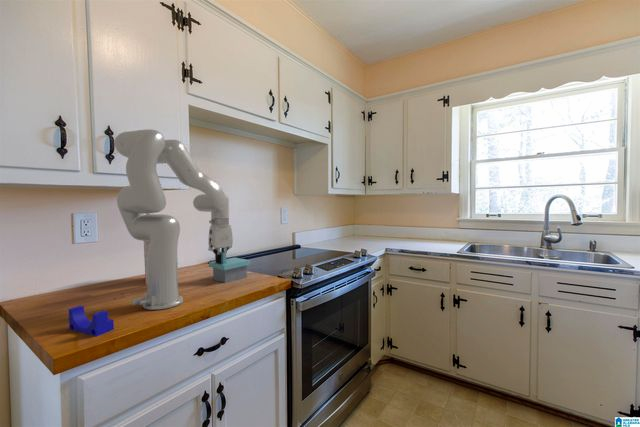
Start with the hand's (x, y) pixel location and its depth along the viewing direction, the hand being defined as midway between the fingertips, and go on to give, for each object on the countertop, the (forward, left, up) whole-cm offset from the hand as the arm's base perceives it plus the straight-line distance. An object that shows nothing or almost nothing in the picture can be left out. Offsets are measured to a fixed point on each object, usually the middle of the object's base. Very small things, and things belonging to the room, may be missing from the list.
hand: (220, 262), depth 132 cm
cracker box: (-18, +25, -9) cm, 32 cm away
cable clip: (-52, -13, -9) cm, 54 cm away
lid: (+5, 0, -2) cm, 6 cm away
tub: (+5, 0, -8) cm, 10 cm away
